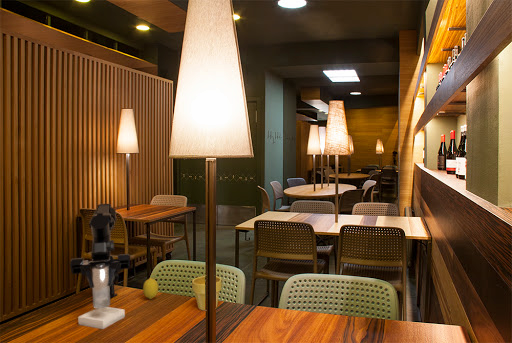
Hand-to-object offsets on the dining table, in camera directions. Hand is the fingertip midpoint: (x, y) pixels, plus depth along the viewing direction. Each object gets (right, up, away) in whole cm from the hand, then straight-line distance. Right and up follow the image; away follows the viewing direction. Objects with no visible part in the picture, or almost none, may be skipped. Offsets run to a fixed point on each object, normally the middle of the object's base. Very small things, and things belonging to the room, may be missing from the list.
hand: (100, 286), depth 131 cm
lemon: (+11, -11, +21) cm, 26 cm away
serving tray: (0, -12, +2) cm, 12 cm away
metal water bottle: (0, -7, +2) cm, 7 cm away
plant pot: (+33, -11, +12) cm, 37 cm away
